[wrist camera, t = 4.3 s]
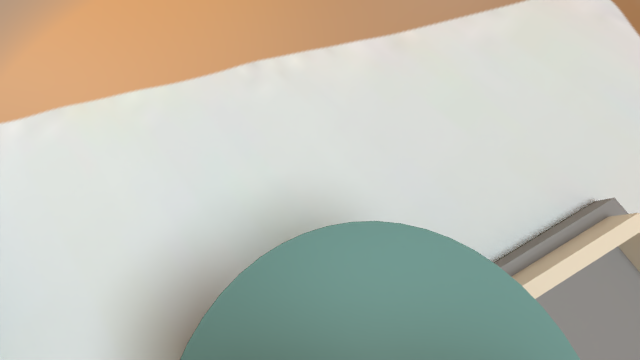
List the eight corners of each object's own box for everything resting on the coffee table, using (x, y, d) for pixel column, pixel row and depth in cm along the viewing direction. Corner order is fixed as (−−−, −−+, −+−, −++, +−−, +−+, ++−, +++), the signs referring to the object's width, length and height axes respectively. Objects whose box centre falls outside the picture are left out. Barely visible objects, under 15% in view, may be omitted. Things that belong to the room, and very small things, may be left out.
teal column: (320, 346, 15) (270, 1036, 2) (284, 268, 17) (98, 343, 3) (391, 303, 16) (754, 601, 2) (350, 231, 17) (438, 159, 4)
